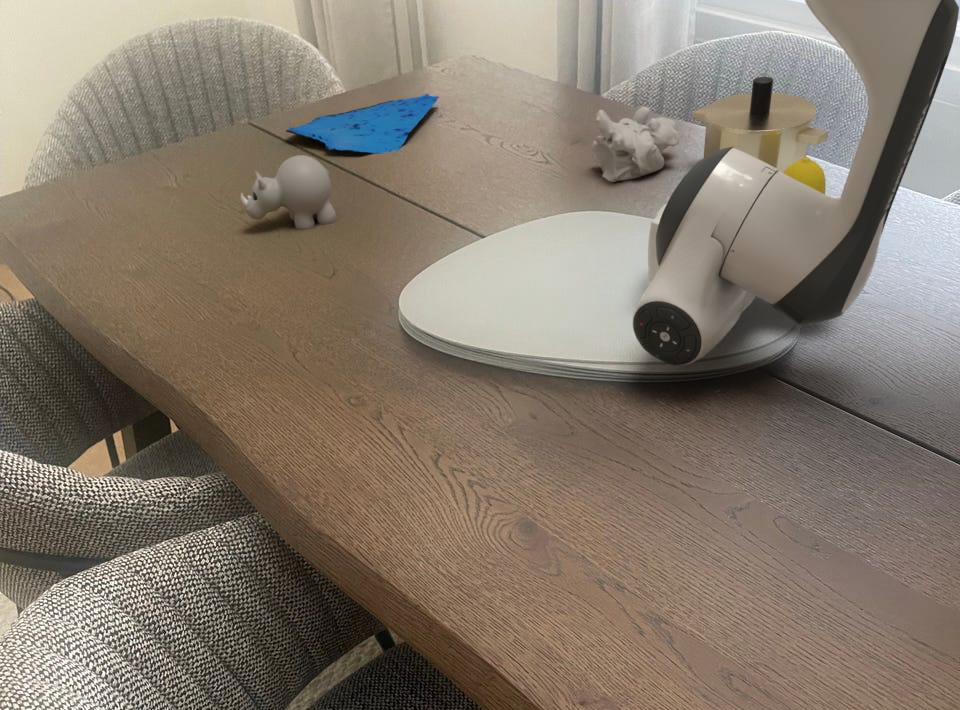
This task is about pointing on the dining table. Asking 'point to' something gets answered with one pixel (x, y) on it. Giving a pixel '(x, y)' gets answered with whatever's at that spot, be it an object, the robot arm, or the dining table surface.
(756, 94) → the pot lid
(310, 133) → the shard
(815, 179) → the lemon
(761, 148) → the pot
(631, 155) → the figurine
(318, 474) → the dining table surface
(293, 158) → the chubby cartoon animal
